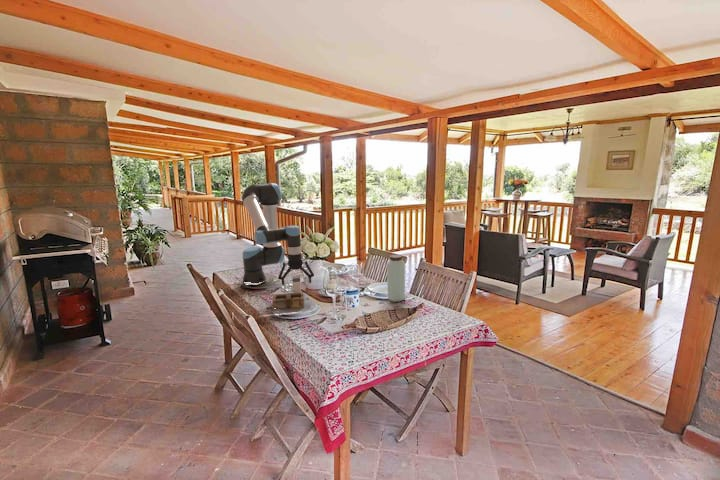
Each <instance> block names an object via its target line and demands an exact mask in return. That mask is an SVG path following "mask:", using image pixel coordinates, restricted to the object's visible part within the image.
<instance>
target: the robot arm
mask: <svg viewBox="0 0 720 480" xmlns="http://www.w3.org/2000/svg"><path fill="white" fill-rule="evenodd" d="M241 201H242V204H243V206H244V207H245V208H246V209H247V212H248V215H249V217H250V220H251V222H252V224H253V227H254V229H255V231H254V234H253V236H254V237H253V238H254V241H255V243H256V245H257V246H250V247H247V248H245V249H244V250H243V251H242V263H243V277H242V284H243V283H244V282H251V283H259V282H263V281H265V280H266V281H267V277H266V275H265V272H264V269H263V267H264V266H270V265H276V264H280V263H282V267H281V270H280V273H278V280H281V285H282V286H283V288H284V292H286V291H287V285H286V282H287V281H286V277H287V275H289V273H290V272H291V270H293V271H294V270H300V271H302V272H303V273H304V274H305V275H306V276H307V284H308V285H307V287H308V290H310V289H311V288H310V287H311V286H310V284H311V283H312V277H314V276H315V274H314V272H313V270H312V269H311V267H310V265H309V262H308V260H303V259H302V258H303V256H302V243H301V241H302V240H301V228H300V226H298V225H287V226H281V227H280V228H279V227H278V212H277V207H278V205H279V204H280V203H279V202H280V201H282V192H281V188H280V186H279V185H278V184H277V183H275V182H266V183H257V184H256V183H253V184H250V185H248V186H247V187H246V188H245V189H244V190H243V192H242V196H241ZM284 241H286V247H287V260H288V262H286V261H284V260H285V253H286V252H285V248H284V246H283V245H282V243H281V242H284ZM258 245H263V246H262V247H260V246H258ZM303 264H304V266H305V267H306V269H307V270H308V271H307V270H306V269H305V268H304V267H303ZM287 266H288V268H287V270H286V271H285V267H287ZM284 271H285V272H284ZM283 273H284V274H283Z"/></svg>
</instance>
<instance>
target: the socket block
mask: <svg viewBox="0 0 720 480" xmlns="http://www.w3.org/2000/svg"><path fill="white" fill-rule="evenodd" d="M304 294H305V293H304V292H302V291H301V292H299V293H294V292H290V293H289V292H288V293H278V294H273V298H272V310H273V309H274V308H276V309H282V310H292V309H304V308H305V300H304Z"/></svg>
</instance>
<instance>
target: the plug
mask: <svg viewBox="0 0 720 480" xmlns="http://www.w3.org/2000/svg"><path fill="white" fill-rule="evenodd" d="M292 286H293V287H292V288H293V293H299V292H302V287H301V275H296V276H292Z"/></svg>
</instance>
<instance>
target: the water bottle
mask: <svg viewBox="0 0 720 480" xmlns="http://www.w3.org/2000/svg"><path fill="white" fill-rule="evenodd" d="M386 263H387V264H386V269H387V270H386V272H387V273H386V274H387V276H386V277H387V279H386V280H387V284H386V285H387V298H388V300H389V301H391V302H396V303H397V302H401V301H404V300H405V298H406V294H405V293H406V291H405V290H406V289H405V288H406V287H405V286H406V285H405V284H406V283H405V281H406V280H405V278H406V276H405V274H406V273H405V271H406V270H405V268H406V266H405V264H406V263H405V261H404V259H403V256H402V255H400V254H391V255H389V260H387V262H386Z"/></svg>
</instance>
